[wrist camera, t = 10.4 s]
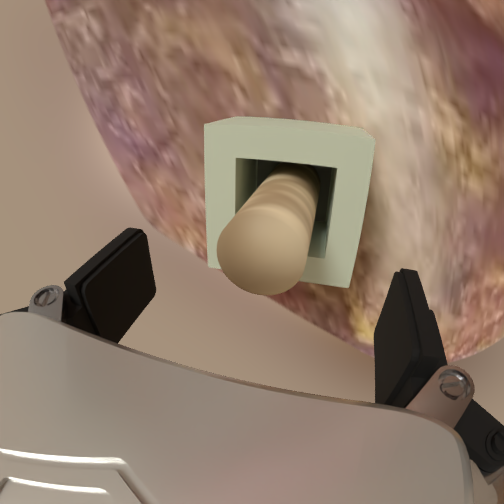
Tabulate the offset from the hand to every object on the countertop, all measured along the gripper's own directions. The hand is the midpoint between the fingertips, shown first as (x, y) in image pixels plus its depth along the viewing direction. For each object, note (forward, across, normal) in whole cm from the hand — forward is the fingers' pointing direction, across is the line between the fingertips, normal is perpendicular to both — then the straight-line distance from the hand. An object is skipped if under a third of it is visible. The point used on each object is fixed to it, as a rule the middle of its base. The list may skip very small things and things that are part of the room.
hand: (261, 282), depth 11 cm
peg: (+14, +1, +1) cm, 15 cm away
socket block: (+16, +1, +1) cm, 16 cm away
